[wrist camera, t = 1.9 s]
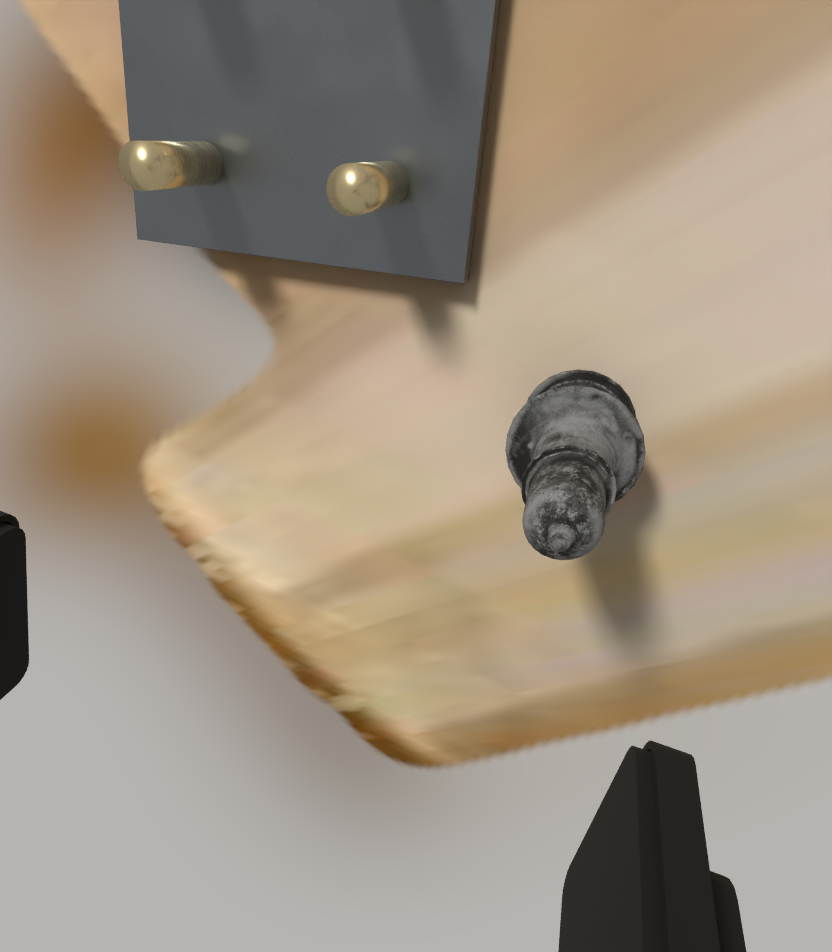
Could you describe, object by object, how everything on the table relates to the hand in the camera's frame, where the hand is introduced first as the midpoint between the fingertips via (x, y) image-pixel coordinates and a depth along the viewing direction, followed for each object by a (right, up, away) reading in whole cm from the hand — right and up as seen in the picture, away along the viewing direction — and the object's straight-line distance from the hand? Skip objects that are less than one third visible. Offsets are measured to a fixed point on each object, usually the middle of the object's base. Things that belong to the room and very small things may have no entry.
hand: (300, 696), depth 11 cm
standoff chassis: (-3, +21, +20) cm, 29 cm away
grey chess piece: (+9, +6, +24) cm, 26 cm away
